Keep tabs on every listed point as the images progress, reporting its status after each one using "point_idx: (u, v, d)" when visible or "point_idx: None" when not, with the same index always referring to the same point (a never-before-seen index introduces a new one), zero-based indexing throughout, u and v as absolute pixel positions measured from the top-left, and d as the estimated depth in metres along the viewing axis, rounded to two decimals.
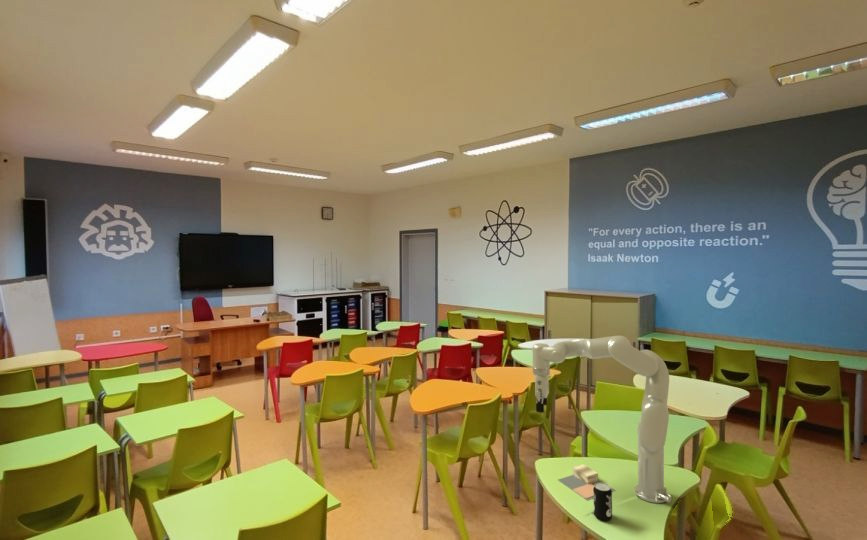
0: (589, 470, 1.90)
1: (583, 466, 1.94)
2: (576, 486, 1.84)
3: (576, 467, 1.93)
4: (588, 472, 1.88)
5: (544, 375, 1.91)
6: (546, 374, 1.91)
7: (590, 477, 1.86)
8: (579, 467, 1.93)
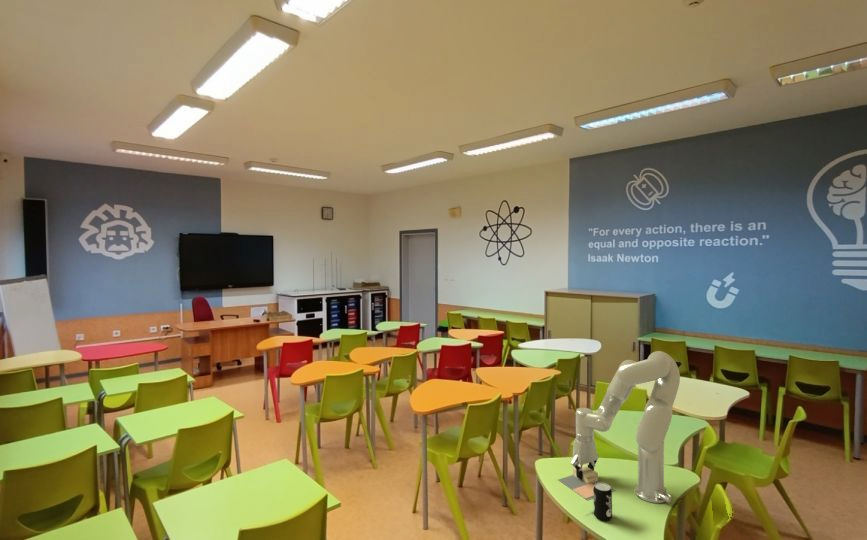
0: (589, 470, 1.90)
1: (583, 466, 1.94)
2: (576, 486, 1.84)
3: None
4: (588, 472, 1.88)
5: None
6: None
7: (590, 477, 1.86)
8: None
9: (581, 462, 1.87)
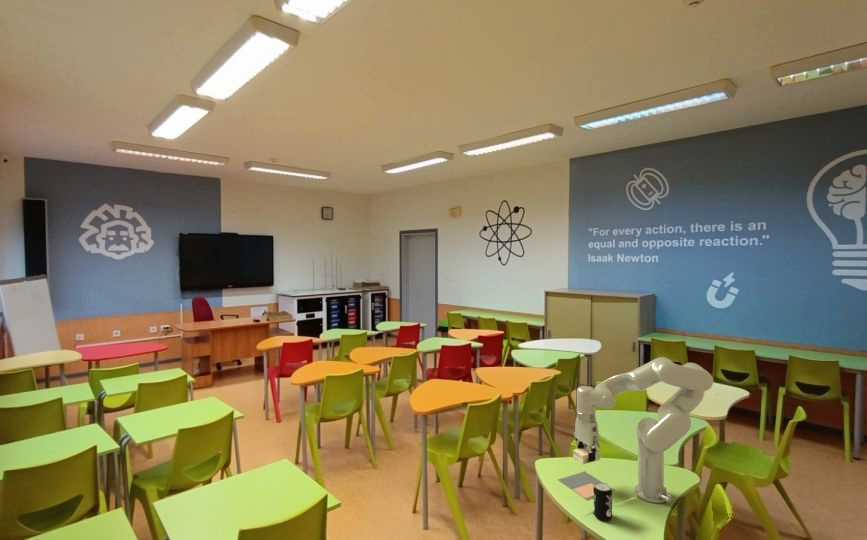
0: (586, 452, 1.81)
1: None
2: (576, 486, 1.84)
3: None
4: (580, 451, 1.82)
5: None
6: None
7: (575, 453, 1.82)
8: None
9: (575, 435, 1.86)
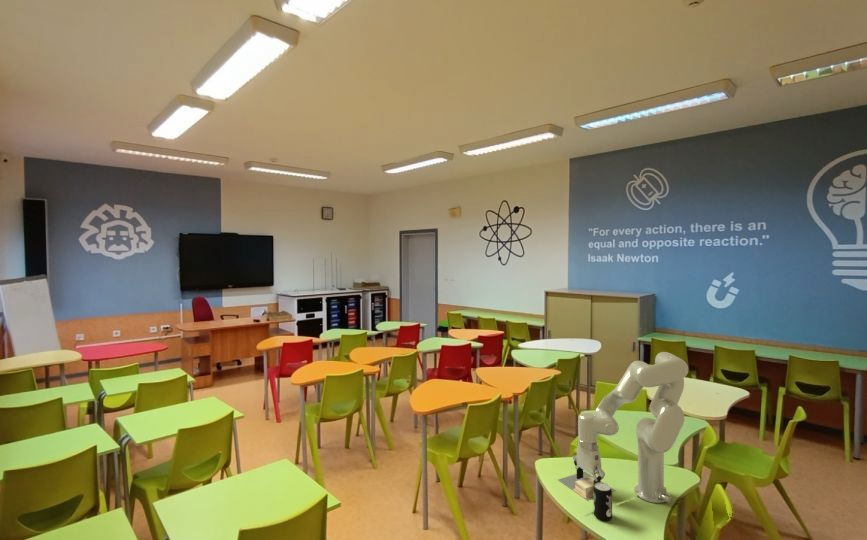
0: (589, 484, 1.78)
1: None
2: None
3: (591, 478, 1.83)
4: (583, 483, 1.79)
5: None
6: None
7: (578, 485, 1.79)
8: (593, 480, 1.82)
9: (577, 463, 1.83)
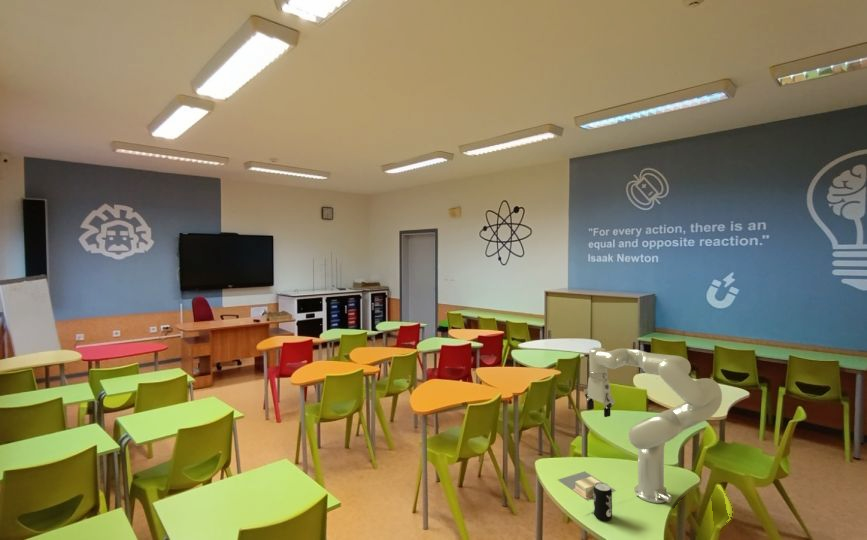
0: (589, 484, 1.78)
1: (596, 482, 1.80)
2: None
3: (591, 478, 1.83)
4: (583, 483, 1.79)
5: (607, 378, 1.91)
6: None
7: (578, 485, 1.79)
8: (593, 480, 1.82)
9: (588, 395, 1.96)
